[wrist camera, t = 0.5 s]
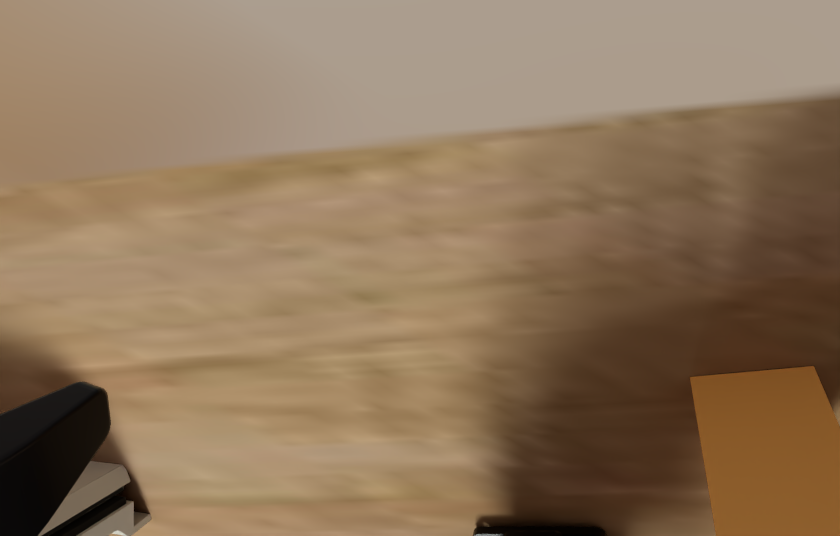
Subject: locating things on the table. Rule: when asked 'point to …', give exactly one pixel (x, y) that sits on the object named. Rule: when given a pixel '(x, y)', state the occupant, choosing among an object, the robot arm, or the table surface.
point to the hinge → (97, 505)
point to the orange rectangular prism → (769, 452)
